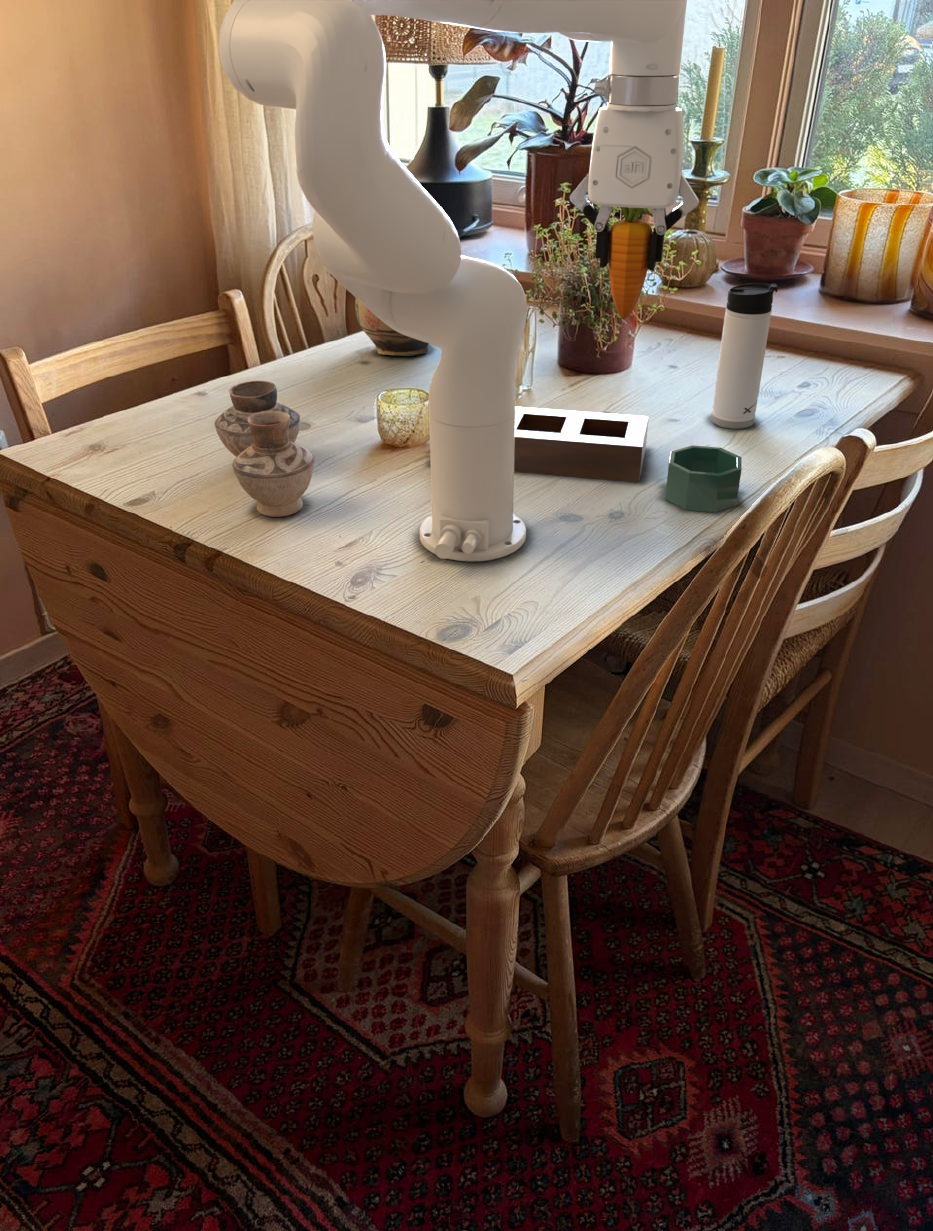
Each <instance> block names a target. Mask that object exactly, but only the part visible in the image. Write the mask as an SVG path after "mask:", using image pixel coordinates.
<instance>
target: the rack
mask: <svg viewBox="0 0 933 1231" xmlns="http://www.w3.org/2000/svg"><path fill="white" fill-rule="evenodd" d="M649 418H650V417H649V416H648V415H647V416H646V415H637V414H621V413H607V412H595V411H581V410H567V409H556V408H554V409H553V408H542V407H541V408H540V407H526V406H515V449H514V473H515V472H516V473H525V474H539V475H547V476H549V475H550V476H561V477H572V478H583V479H593V480H594V479H595V480H608V481H617V482H618V481H620V482H628V483H629V482H631V483H640V481H641V475H642V469H643V466H644V460H645V456H646V449H647V438H648V427H649V420H650V419H649Z"/></svg>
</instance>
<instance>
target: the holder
mask: <svg viewBox="0 0 933 1231" xmlns="http://www.w3.org/2000/svg"><path fill="white" fill-rule="evenodd" d="M668 461H669V462H668V468H667V469H668V470H667V476H666V477H667V478H666V486H665V496H664V500H666V501H668V502H669V503H672V504H674V505H675V506H677V507H678V508H681V509H683V510H684V511H693V512H704V513H705V512H706V513H717V512H720V511H724V510H726V509H729V508H732V507H735V506H737V503H738V497H739V490H740V483H741V476H742V471H743V457H742V456H740V455H738V454H735V453H734V452H731V451H729V450H727V449H725V448H723V447H717V446H706V445H705V446H704V445H694V444H693V445H689V446H684V447H681V448H677V449H675V450H671V451H670V453H669V459H668Z"/></svg>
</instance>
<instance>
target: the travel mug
mask: <svg viewBox="0 0 933 1231" xmlns="http://www.w3.org/2000/svg"><path fill="white" fill-rule="evenodd" d="M778 290H779V289H778V285H777V283H761V282H753V283H752V282H751V283H743V284H739V285H734V286H732V287H731V288H729V290H728V293H727V299H726V300H727V302H726V306H725V312H724V318H723V326H722V333H721V342H720V349H719V356H718V365H717V371H716V380H715V388H714V395H713V403H712V410H711V417H710V419H711V421H712V423H713V424H715V425H716V426H718V427H722V428H724V429H731V430H741V429H746V428H749V427H751V426H753V425H754V424H755V419H756V412H757V407H758V399H759V393H760V387H761V380H762V374H763V368H764V363H765V362H764V361H765V355H766V349H767V343H768V337H769V331H770V323H771V317H772V307H773V305H772V304H773V302H774V292H775V293H778Z"/></svg>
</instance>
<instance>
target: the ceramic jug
mask: <svg viewBox="0 0 933 1231" xmlns="http://www.w3.org/2000/svg"><path fill="white" fill-rule="evenodd" d="M354 299H355V300H354V301H355V302H354V304H355V305H354V308H355V316H356V318H357V322H358V325H359V327H360V329H361V330H362V331H363V332H364V333H365V335H366V336H367V337H368V338H369V339H370V341H371V342H372V343H373V344H374V346H375V348H376V351H377V353H378V355H387V356H399V357H413V356H417V355H424V354H427V353H428V352H429V350H430V349H429V345H430V344H429V343H426V342H423V341H420V340H417V339H414V338H411V337H408V336H406V335H403V334H401V333H399V332H397V331H395V330H393V329H392V328H390V327H389V326H388V325H386V324H385V323H384V322H382V321H381V320H380V319H379V318H378V317H377V316H376V315H374V314H373V313H372V312H371V311H370V310H369V309H368V308H367V307H366V306H364V305H363V304H362V303H361V302H360V301H359V300H358V299H357V298H356V297H355V296H354Z"/></svg>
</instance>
